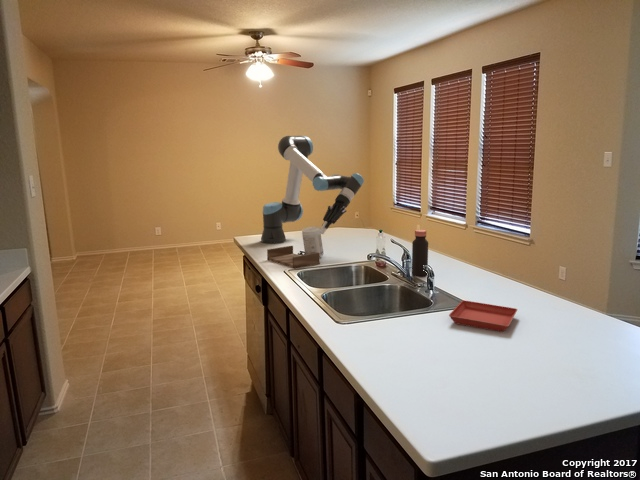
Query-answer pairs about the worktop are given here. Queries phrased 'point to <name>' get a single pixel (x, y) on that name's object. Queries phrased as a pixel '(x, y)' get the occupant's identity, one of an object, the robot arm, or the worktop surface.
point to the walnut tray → (292, 257)
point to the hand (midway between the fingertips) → (320, 232)
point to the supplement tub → (312, 240)
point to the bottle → (419, 253)
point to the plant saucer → (483, 315)
